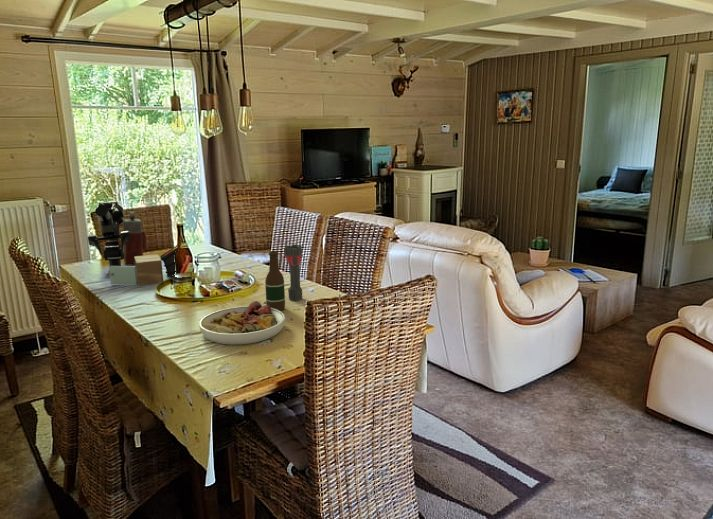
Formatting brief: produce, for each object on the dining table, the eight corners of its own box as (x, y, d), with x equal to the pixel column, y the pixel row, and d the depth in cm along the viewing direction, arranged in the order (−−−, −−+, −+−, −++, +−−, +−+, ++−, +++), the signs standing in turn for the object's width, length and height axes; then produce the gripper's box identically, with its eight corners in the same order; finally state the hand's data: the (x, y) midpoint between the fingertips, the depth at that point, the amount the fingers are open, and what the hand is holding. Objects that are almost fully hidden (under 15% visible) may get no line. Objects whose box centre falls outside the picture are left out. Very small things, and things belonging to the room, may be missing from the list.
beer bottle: (289, 307, 220) (286, 250, 214) (280, 313, 213) (277, 254, 207) (272, 305, 222) (269, 248, 217) (262, 311, 215) (259, 253, 210)
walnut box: (136, 278, 268) (134, 256, 265) (159, 275, 272) (157, 254, 270) (139, 285, 255) (136, 262, 252) (163, 282, 259) (161, 260, 257)
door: (109, 285, 254) (107, 266, 252) (112, 284, 256) (109, 265, 254) (136, 286, 253) (134, 266, 251) (138, 284, 255) (136, 265, 253)
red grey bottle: (147, 262, 301) (146, 212, 295) (125, 263, 296) (123, 212, 290) (145, 259, 309) (144, 210, 303) (124, 260, 303) (122, 210, 298)
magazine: (195, 269, 277) (181, 245, 270) (174, 284, 271) (158, 260, 264) (192, 267, 280) (178, 244, 273) (171, 282, 274) (155, 258, 267)
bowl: (269, 350, 177) (268, 328, 175) (184, 345, 182) (182, 323, 181) (295, 320, 206) (294, 300, 204) (221, 316, 211) (220, 297, 209)
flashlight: (293, 294, 237) (291, 243, 232) (307, 297, 234) (305, 245, 228) (282, 299, 231) (279, 246, 226) (297, 301, 227) (294, 248, 222)
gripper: (84, 220, 256) (89, 250, 251) (126, 215, 264) (132, 244, 259) (86, 230, 265) (91, 259, 261) (127, 225, 273) (132, 253, 269)
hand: (112, 253), depth 262 cm, fingers open, 9 cm apart
